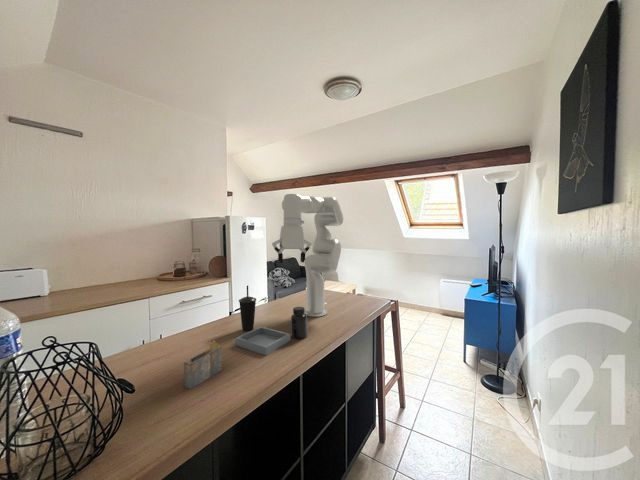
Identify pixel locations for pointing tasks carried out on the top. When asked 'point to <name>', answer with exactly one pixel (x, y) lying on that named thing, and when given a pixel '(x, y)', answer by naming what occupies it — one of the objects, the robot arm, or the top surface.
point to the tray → (263, 340)
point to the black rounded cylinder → (247, 312)
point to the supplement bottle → (299, 323)
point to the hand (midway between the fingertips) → (291, 262)
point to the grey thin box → (203, 366)
